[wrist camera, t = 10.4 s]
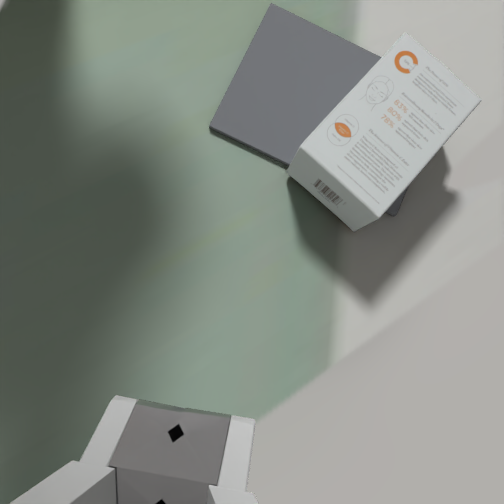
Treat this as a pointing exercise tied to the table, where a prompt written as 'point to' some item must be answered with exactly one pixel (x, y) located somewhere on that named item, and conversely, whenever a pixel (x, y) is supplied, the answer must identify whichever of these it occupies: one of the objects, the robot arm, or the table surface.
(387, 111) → the small box
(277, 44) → the mat
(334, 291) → the table surface
